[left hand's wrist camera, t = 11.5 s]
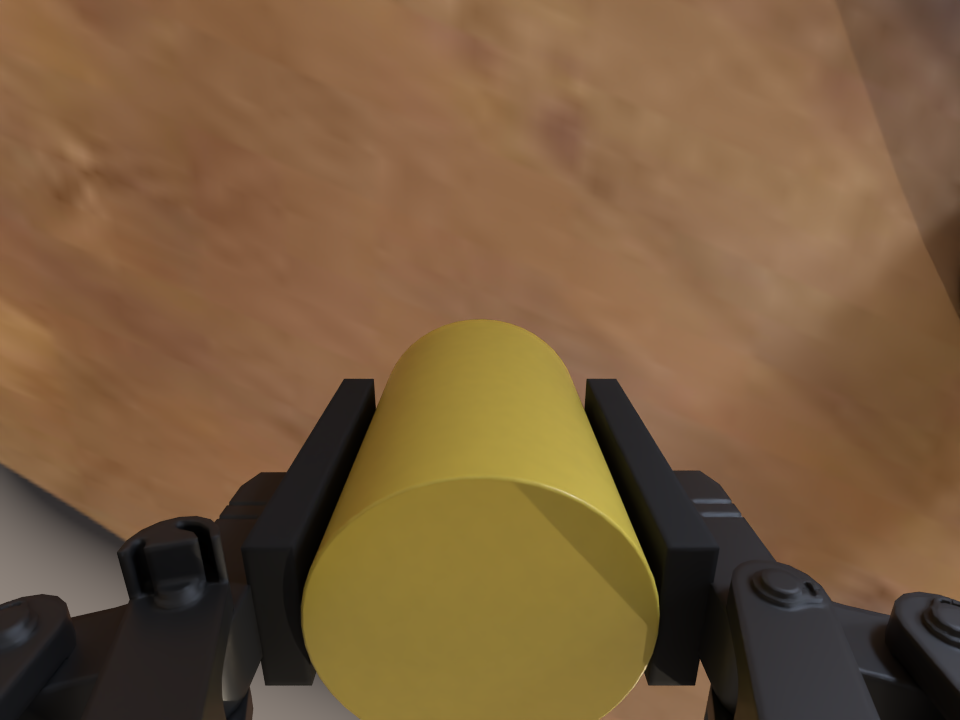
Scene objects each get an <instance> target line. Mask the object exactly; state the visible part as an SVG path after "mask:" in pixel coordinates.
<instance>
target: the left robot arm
mask: <svg viewBox="0 0 960 720" xmlns="http://www.w3.org/2000/svg"><path fill="white" fill-rule="evenodd" d="M375 411H376V405H375V391H374V379H344V380H343V382H342V383H341V385H340V387H339V388H338V390H337V391H336V393H335V395H334V396H333V398H332V400H331V401H330V403H329V404H328V406H327V408H326V409H325V411H324V413H323V414H322V416H321V417H320V419H319V421H318V422H317V424H316V426H315V427H314V429H313V431H312V432H311V434H310V435H309V437H308V439H307V440H306V442H305V444H304V445H303V447H302V448H301V450H300V452H299V453H298V455H297V457H296V458H295V460H294V461H293V463H292V465H291V466H290V468H289V470H288V471H287V472H261V473H259V474H258V475H257V476H255V477H254V478H252V479H251V480H249V481H248V482H246V483H245V484H244V485H242V486H241V487H240V488H239V490H238V491H237V492H236V494H235V495H234V497H233V498H232V499H231V501H230V502H229V506H226V508H225V509H224V510H223V512H222V513H221V514H220V518H219V519H217V520H216V521H215V523H214V522H213V521H212V520H211V519H207V518H203V517H198V516H189V517H177V518H173V519H169V520H165V521H161V522H159V523H156V524H154V525H152V526H149V527H147V528H145V529H143V530H141V531H140V532H138V533H137V534H135V535H134V536H132V537H131V538H130V539H128V540H127V541H126V542H125V543H124V545H123V546H122V547H121V548H120V549H119V551H118V552H117V555H118V558H119V562H120V566H121V569H122V573H123V577H124V580H125V584H126V588H127V591H128V595H129V599H130V600H129V603H128V604H126V605H122V606H119V607H116V608H111V609H107V610H102V611H98V612H94V613H89V614H85V615H80V616H76V617H72V618H71V617H70V614H69V611H68V607H67V604H66V603H65V602H64V601H63V600H62V599H60V598H59V597H58V596H52V595H45V594H40V595H33V596H27V597H21V598H18V599H15V600H12V601H10V602H6V603H3V604H1V605H0V720H252V715H253V704H252V696H251V691H250V684H251V682H252V679H253V677H254V675H255V673H256V670H257V668H258V666H259V663H260V661H261V664H262V669H263V675H264V681H265V685H312V684H313V680H314V677H315V674H316V670H315V668H314V667H313V665H312V663H311V661H310V658H309V655H308V652H307V650H306V647H305V643H304V638H303V633H302V627H301V601H302V595H303V588H304V585H305V582H306V579H307V576H308V573H309V570H310V567H311V565H312V563H313V560H314V558H315V555H316V553H317V551H318V548H319V546H320V543H321V541H322V539H323V536H324V534H325V531H326V529H327V526H328V524H329V522H330V519H331V517H332V514H333V512H334V510H335V507H336V505H337V502H338V500H339V497H340V495H341V493H342V490H343V488H344V485H345V483H346V481H347V478H348V476H349V473H350V471H351V469H352V466H353V464H354V461H355V459H356V456H357V454H358V452H359V449H360V447H361V444H362V442H363V440H364V437H365V435H366V432H367V430H368V427H369V425H370V423H371V420H372V418H373V415H374V413H375ZM585 413H586V415H587V418H588V420H589V423H590V425H591V427H592V430H593V432H594V435H595V437H596V439H597V442H598V444H599V447H600V449H601V451H602V454H603V456H604V459H605V461H606V464H607V466H608V468H609V471H610V473H611V476H612V478H613V480H614V483H615V485H616V488H617V490H618V493H619V495H620V497H621V500H622V502H623V505H624V507H625V509H626V512H627V514H628V517H629V519H630V521H631V524H632V526H633V529H634V531H635V534H636V536H637V538H638V541H639V543H640V546H641V548H642V550H643V553H644V555H645V558H646V560H647V562H648V565H649V567H650V570H651V572H652V575H653V577H654V580H655V584H656V588H657V592H658V597H659V611H660V618H659V628H658V636H657V640H656V644H655V647H654V651H653V654H652V656H651V659H650V661H649V663H648V665H647V667H646V670H645V671H644V673H645V676H646V679H647V682H648V685H695V683H696V677H697V672H698V666H699V661H700V660H701V662H702V664H703V667H704V669H705V671H706V674H707V676H708V678H709V680H710V683H711V686H710V691H709V696H708V701H707V707H706V712H705V717H704V720H960V602H959V601H956V600H954V599H950V598H947V597H944V596H941V595H937V594H930V593H924V592H914V593H907V594H903V595H902V596H900V597H899V598H898V599H897V600H896V601H895V603H894V606H893V609H892V612H891V615H886V614H882V613H877V612H873V611H868V610H864V609H859V608H855V607H851V606H846V605H843V604H839V603H836V602H833V601H831V599H830V598H829V596H828V595H827V593H826V592H825V590H824V589H823V587H822V586H821V585H820V584H818V583H817V582H816V581H815V580H813V579H812V578H811V577H810V576H808V575H807V574H805V573H803V572H801V571H799V570H797V569H795V568H793V567H791V566H789V565H786V564H782V563H779V562H776V561H775V559H774V558H773V557H772V555H771V554H770V552H769V551H768V550H767V548H766V547H765V546H764V544H763V543H762V542H761V540H760V539H759V537H758V536H757V535H756V533H755V532H754V531H753V529H752V528H751V527H750V525H749V524H748V522H747V521H746V520H745V518H744V517H741V513H740V512H739V510H738V509H737V507H736V506H735V505H734V504H732V503H731V499H730V498H729V497H728V495H727V494H726V492H725V491H724V490H723V488H722V487H721V486H720V484H718V483H717V482H715V481H714V480H712V479H711V478H710V477H708V476H707V475H705V474H704V473H702V472H701V471H672V469H671V467H670V466H669V464H668V462H667V461H666V459H665V458H664V456H663V454H662V453H661V451H660V449H659V448H658V446H657V445H656V443H655V441H654V440H653V438H652V436H651V435H650V433H649V432H648V430H647V428H646V427H645V425H644V423H643V422H642V420H641V419H640V417H639V415H638V414H637V412H636V410H635V409H634V407H633V406H632V404H631V402H630V401H629V399H628V397H627V396H626V394H625V393H624V391H623V389H622V388H621V386H620V384H619V383H618V381H617V380H616V379H587V382H586V396H585Z"/></svg>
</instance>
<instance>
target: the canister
mask: <svg viewBox="0 0 960 720" xmlns="http://www.w3.org/2000/svg"><path fill="white" fill-rule="evenodd" d="M659 618H660V611H659V597H658V592H657V588H656V584H655V580H654V577H653V575H652V572H651V570H650V567H649V565H648V562H647V560H646V558H645V555H644V553H643V550H642V548H641V546H640V543H639V541H638V538H637V536H636V534H635V531H634V529H633V526H632V524H631V521H630V519H629V517H628V514H627V512H626V509H625V507H624V505H623V502H622V500H621V497H620V495H619V493H618V490H617V488H616V485H615V483H614V480H613V478H612V476H611V473H610V471H609V468H608V466H607V464H606V461H605V459H604V456H603V454H602V451H601V449H600V447H599V444H598V442H597V439H596V437H595V435H594V432H593V430H592V427H591V425H590V423H589V420H588V418H587V415H586V413H585V410H584V408H583V406H582V403H581V401H580V398H579V396H578V394H577V391H576V389H575V386H574V384H573V382H572V379H571V377H570V375H569V372H568V370H567V368H566V367H565V365H564V363H563V362H562V360H561V359H560V357H559V356H558V355H557V354H556V353H555V351H554V350H553V349H552V348H551V347H550V346H549V345H548V344H546V343H545V342H544V341H543V340H541V339H540V338H539V337H537V336H536V335H534V334H533V333H531V332H529V331H527V330H525V329H523V328H521V327H518V326H515V325H512V324H510V323H505V322H501V321H496V320H485V319H477V320H465V321H459V322H455V323H451V324H448V325H444V326H442V327H440V328H437V329H435V330H433V331H431V332H429V333H428V334H426V335H424V336H423V337H421V338H420V339H419V340H417V341H416V342H415V343H414V344H413V345H411V346H410V347H409V348H408V349H407V351H406V352H405V353H404V354H403V355H402V356H401V358H400V359H399V361H398V362H397V363H396V365H395V367H394V369H393V371H392V373H391V375H390V377H389V379H388V382H387V384H386V386H385V389H384V391H383V394H382V396H381V399H380V401H379V403H378V406H377V408H376V411H375V413H374V415H373V418H372V420H371V423H370V425H369V427H368V430H367V432H366V435H365V437H364V440H363V442H362V444H361V447H360V449H359V452H358V454H357V456H356V459H355V461H354V464H353V466H352V469H351V471H350V473H349V476H348V478H347V481H346V483H345V485H344V488H343V490H342V493H341V495H340V497H339V500H338V502H337V505H336V507H335V510H334V512H333V514H332V517H331V519H330V522H329V524H328V526H327V529H326V531H325V534H324V536H323V539H322V541H321V543H320V546H319V548H318V551H317V553H316V555H315V558H314V560H313V563H312V565H311V567H310V570H309V573H308V576H307V579H306V582H305V585H304V588H303V595H302V601H301V627H302V633H303V638H304V643H305V647H306V650H307V652H308V655H309V658H310V661H311V663H312V665H313V667H314V668H315V670H316V672H317V674H318V676H319V677H320V679H321V680H322V682H323V683H324V684H325V686H326V687H327V688H328V690H329V691H330V692H331V693H332V695H333V696H334V697H335V698H336V699H337V700H338V701H339V702H340V703H341V704H342V705H343V706H344V707H345V708H347V709H348V710H349V711H350V712H352V713H353V714H354V715H355V716H357V717H358V718H359V719H361V720H599V719H601V718H602V717H604V716H605V715H606V714H608V713H609V712H610V711H611V710H612V709H614V708H615V707H616V706H617V705H618V704H619V703H620V702H621V701H622V700H623V699H624V698H625V697H626V696H627V695H628V694H629V692H630V691H631V690H632V689H633V688H634V687H635V685H636V684H637V682H638V681H639V679H640V678H641V676H642V674H643V673H644V671H645V670H646V667H647V665H648V663H649V661H650V659H651V656H652V654H653V651H654V647H655V644H656V640H657V636H658V628H659Z"/></svg>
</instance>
